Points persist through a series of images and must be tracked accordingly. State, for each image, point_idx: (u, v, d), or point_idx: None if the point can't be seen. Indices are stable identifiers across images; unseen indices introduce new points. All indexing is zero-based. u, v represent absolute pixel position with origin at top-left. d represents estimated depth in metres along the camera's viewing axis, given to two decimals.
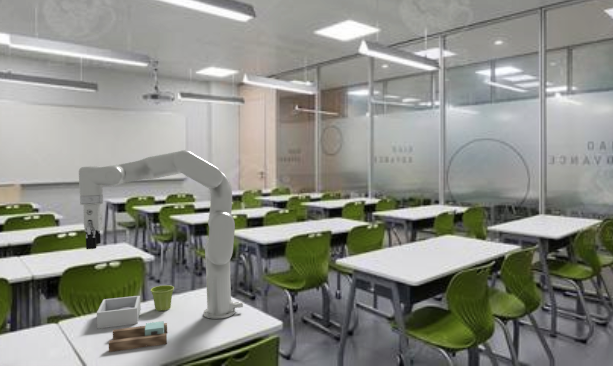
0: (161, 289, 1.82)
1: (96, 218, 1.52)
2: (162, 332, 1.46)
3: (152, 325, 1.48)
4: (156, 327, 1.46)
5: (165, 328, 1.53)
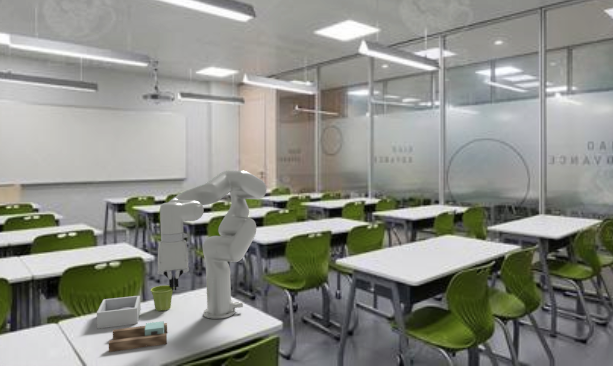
0: (161, 289, 1.82)
1: None
2: (162, 332, 1.46)
3: (153, 325, 1.48)
4: (156, 327, 1.46)
5: (165, 328, 1.53)
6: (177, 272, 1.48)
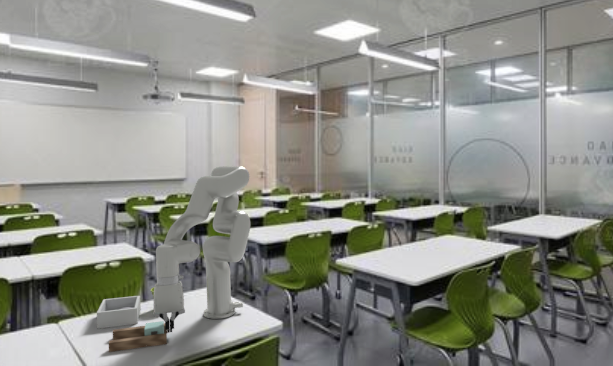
0: None
1: None
2: (162, 332, 1.46)
3: (152, 325, 1.48)
4: (156, 327, 1.46)
5: None
6: (173, 314, 1.48)
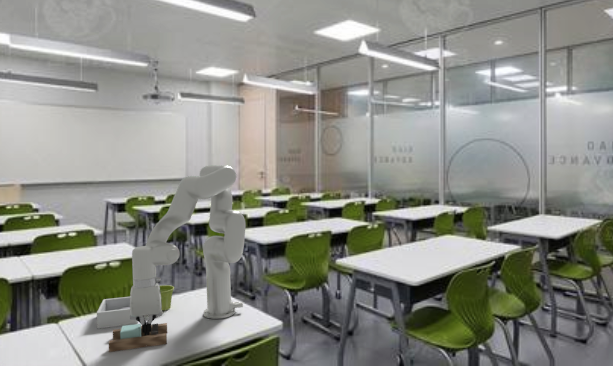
0: (161, 289, 1.82)
1: None
2: (138, 335, 1.44)
3: (129, 327, 1.46)
4: (132, 330, 1.44)
5: (165, 328, 1.53)
6: (150, 317, 1.46)
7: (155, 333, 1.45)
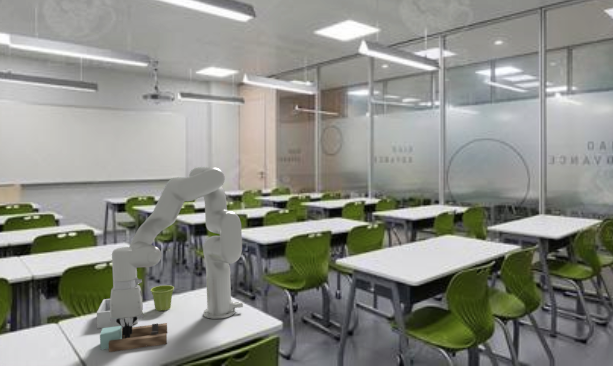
0: (161, 289, 1.82)
1: None
2: (118, 337, 1.42)
3: (109, 329, 1.44)
4: (112, 332, 1.42)
5: (165, 328, 1.53)
6: (130, 319, 1.44)
7: (155, 333, 1.45)
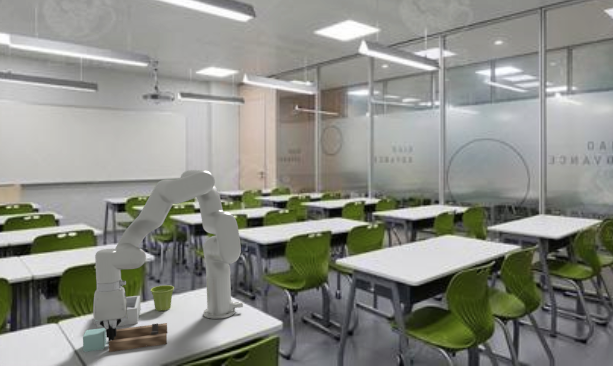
0: (161, 289, 1.82)
1: None
2: (102, 339, 1.41)
3: (93, 332, 1.43)
4: (95, 334, 1.41)
5: (165, 328, 1.53)
6: (114, 321, 1.43)
7: (155, 333, 1.45)
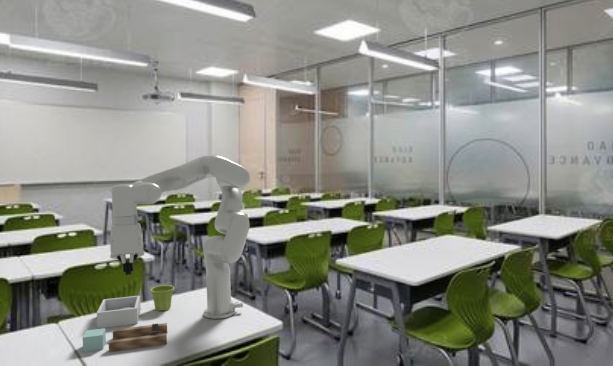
0: (161, 289, 1.82)
1: None
2: (101, 340, 1.41)
3: (92, 332, 1.43)
4: (95, 335, 1.41)
5: (165, 328, 1.53)
6: (131, 256, 1.43)
7: (155, 333, 1.45)
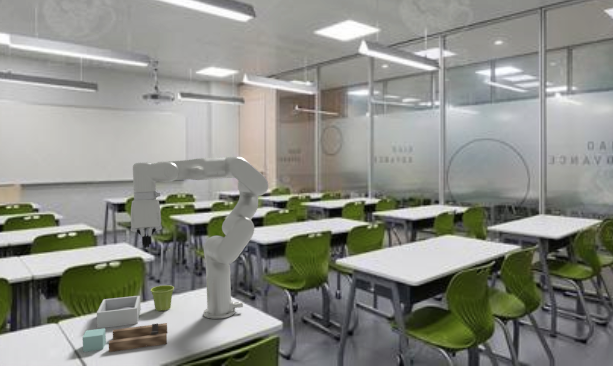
0: (161, 289, 1.82)
1: None
2: (101, 340, 1.41)
3: (92, 332, 1.43)
4: (95, 334, 1.41)
5: (165, 328, 1.53)
6: (150, 230, 1.53)
7: (155, 333, 1.45)
